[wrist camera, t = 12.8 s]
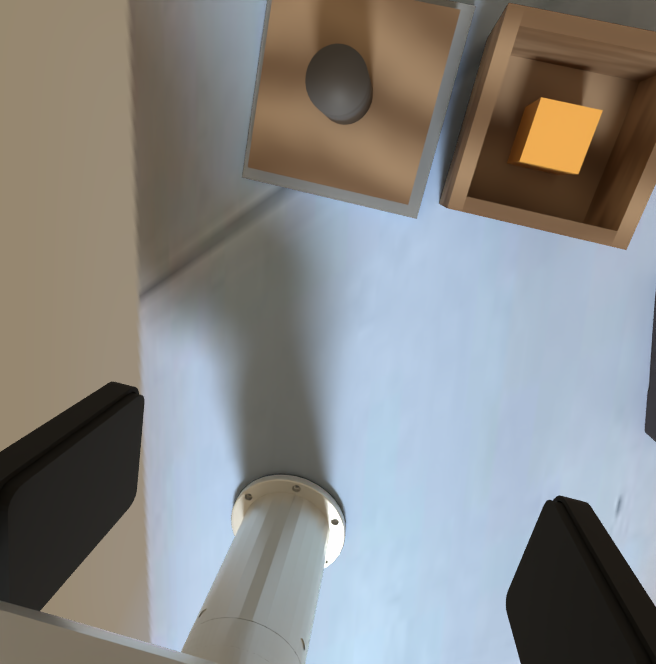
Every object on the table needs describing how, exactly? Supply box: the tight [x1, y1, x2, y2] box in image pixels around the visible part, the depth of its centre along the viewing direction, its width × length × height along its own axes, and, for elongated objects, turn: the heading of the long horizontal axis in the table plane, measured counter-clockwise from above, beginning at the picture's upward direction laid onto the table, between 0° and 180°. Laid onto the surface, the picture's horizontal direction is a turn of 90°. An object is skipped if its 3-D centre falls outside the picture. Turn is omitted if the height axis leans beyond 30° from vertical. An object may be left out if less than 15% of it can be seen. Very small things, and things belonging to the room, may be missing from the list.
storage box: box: [439, 3, 656, 250], centre depth 31 cm, size 12×12×7 cm
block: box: [507, 97, 603, 175], centre depth 32 cm, size 4×4×4 cm
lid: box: [248, 0, 460, 205], centre depth 32 cm, size 13×13×7 cm
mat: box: [242, 0, 476, 219], centre depth 35 cm, size 15×15×1 cm
